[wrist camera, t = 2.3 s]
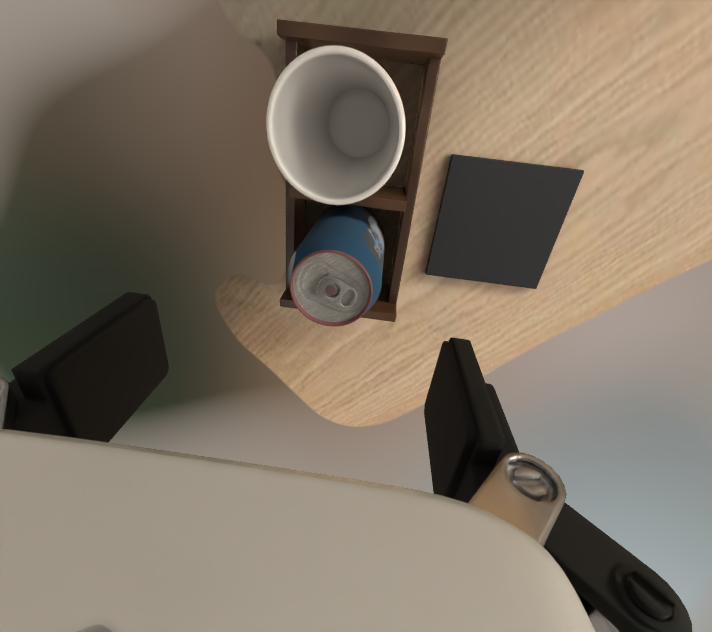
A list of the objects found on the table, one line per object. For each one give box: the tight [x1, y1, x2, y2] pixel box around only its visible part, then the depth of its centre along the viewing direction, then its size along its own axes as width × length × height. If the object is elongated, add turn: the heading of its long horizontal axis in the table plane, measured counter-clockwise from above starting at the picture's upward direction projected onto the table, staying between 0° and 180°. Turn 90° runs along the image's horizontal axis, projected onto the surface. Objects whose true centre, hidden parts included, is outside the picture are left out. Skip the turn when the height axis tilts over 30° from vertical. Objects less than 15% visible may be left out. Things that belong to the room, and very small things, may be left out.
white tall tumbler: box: [266, 45, 406, 205], centre depth 23 cm, size 7×7×15 cm
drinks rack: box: [277, 20, 448, 322], centre depth 29 cm, size 11×20×6 cm, turn 174°
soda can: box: [288, 205, 385, 326], centre depth 29 cm, size 7×7×12 cm
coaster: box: [426, 154, 584, 289], centre depth 32 cm, size 11×11×1 cm
